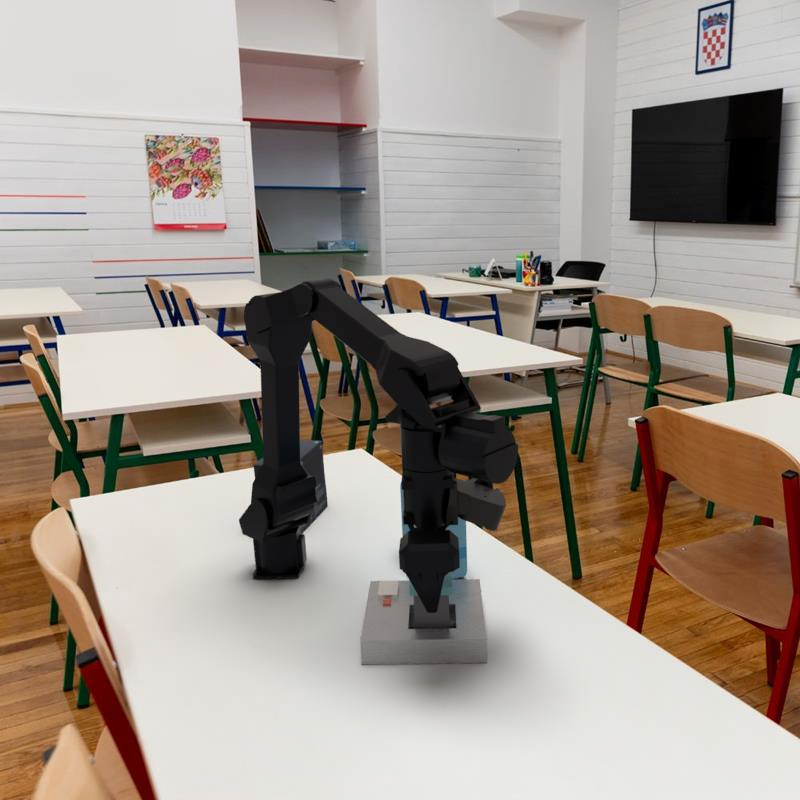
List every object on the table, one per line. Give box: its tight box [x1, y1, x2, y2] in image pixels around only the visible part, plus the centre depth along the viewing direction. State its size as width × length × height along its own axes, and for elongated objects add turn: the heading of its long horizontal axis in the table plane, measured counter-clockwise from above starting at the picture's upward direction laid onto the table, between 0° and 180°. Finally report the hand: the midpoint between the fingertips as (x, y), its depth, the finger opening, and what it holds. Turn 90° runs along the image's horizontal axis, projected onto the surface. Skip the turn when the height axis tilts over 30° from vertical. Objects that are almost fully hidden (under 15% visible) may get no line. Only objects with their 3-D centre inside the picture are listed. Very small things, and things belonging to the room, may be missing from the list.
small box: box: [252, 439, 329, 534], centre depth 127 cm, size 13×7×12 cm, turn 164°
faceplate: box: [359, 578, 488, 665], centre depth 93 cm, size 14×14×4 cm
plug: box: [409, 572, 452, 629], centre depth 90 cm, size 5×5×8 cm
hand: (432, 591), depth 90 cm, fingers open, 9 cm apart
